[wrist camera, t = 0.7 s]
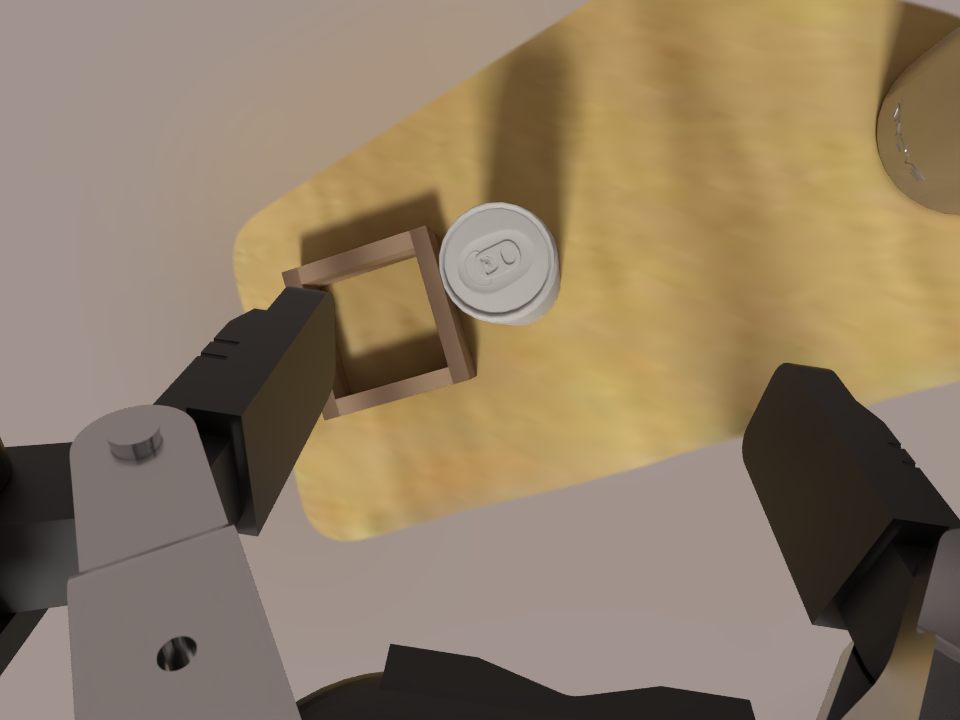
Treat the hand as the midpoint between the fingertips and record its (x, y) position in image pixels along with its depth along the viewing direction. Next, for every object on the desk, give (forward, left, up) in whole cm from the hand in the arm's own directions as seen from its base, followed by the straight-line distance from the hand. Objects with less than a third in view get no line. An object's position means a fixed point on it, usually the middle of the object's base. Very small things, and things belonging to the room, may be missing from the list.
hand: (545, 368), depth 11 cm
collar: (+10, -4, -24) cm, 26 cm away
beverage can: (+1, -4, -24) cm, 24 cm away
